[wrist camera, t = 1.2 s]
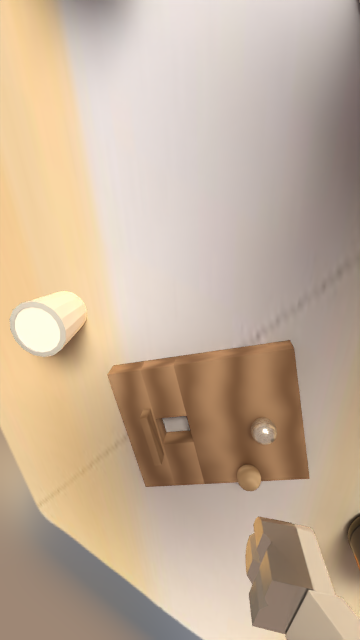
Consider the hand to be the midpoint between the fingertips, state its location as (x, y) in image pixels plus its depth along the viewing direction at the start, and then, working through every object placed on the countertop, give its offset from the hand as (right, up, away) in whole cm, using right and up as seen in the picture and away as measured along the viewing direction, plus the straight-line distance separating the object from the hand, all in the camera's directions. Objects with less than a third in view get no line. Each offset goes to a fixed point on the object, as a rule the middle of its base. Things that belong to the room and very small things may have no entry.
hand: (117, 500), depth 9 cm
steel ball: (+12, -9, +29) cm, 33 cm away
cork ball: (+11, -16, +32) cm, 37 cm away
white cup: (-13, +7, +32) cm, 35 cm away
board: (+6, -8, +34) cm, 36 cm away
